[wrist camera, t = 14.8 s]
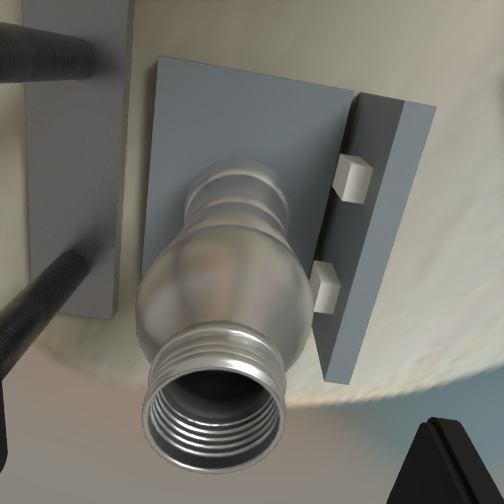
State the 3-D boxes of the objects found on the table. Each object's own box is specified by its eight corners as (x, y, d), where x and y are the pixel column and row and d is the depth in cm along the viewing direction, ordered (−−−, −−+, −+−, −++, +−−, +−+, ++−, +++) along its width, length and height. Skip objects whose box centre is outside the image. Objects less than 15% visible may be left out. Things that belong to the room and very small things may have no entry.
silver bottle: (307, 207, 29) (397, 439, 11) (228, 262, 31) (192, 544, 13) (250, 129, 27) (244, 252, 9) (169, 191, 29) (24, 404, 11)
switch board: (163, 56, 27) (123, 49, 19) (383, 96, 28) (436, 106, 20) (145, 281, 33) (108, 350, 25) (326, 308, 34) (348, 384, 26)
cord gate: (33, -23, 26) (-573, -283, 7) (135, -4, 26) (-177, -201, 7) (40, 298, 34) (-225, 582, 15) (117, 310, 35) (-49, 600, 16)
